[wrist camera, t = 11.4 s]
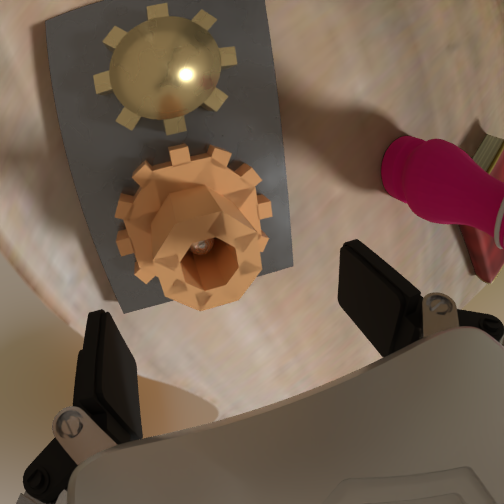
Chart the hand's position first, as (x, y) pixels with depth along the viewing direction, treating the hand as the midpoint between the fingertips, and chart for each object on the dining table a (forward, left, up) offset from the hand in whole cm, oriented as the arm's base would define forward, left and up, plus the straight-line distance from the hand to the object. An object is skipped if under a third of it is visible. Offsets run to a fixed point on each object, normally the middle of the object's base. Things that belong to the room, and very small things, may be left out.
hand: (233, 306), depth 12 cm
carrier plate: (-5, 0, -12) cm, 13 cm away
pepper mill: (0, +20, -12) cm, 23 cm away
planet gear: (0, 0, -10) cm, 10 cm away
